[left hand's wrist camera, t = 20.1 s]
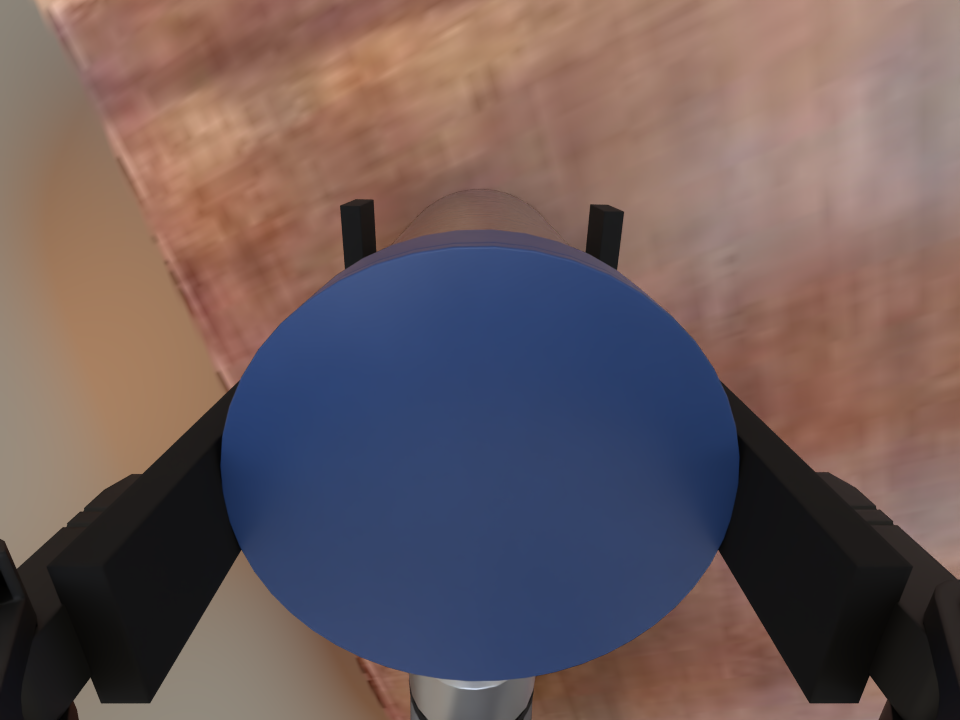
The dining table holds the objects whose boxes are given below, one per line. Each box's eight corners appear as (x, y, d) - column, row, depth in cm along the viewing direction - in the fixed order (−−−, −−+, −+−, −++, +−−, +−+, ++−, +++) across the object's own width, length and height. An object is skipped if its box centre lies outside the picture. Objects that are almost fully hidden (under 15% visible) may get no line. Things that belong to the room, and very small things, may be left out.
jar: (516, 379, 31) (566, 681, 13) (371, 315, 30) (210, 561, 12) (595, 236, 28) (793, 386, 10) (436, 157, 26) (348, 172, 9)
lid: (643, 150, 10) (681, 151, 8) (735, 554, 13) (774, 617, 12) (171, 326, 11) (110, 361, 9) (371, 651, 15) (355, 722, 13)
